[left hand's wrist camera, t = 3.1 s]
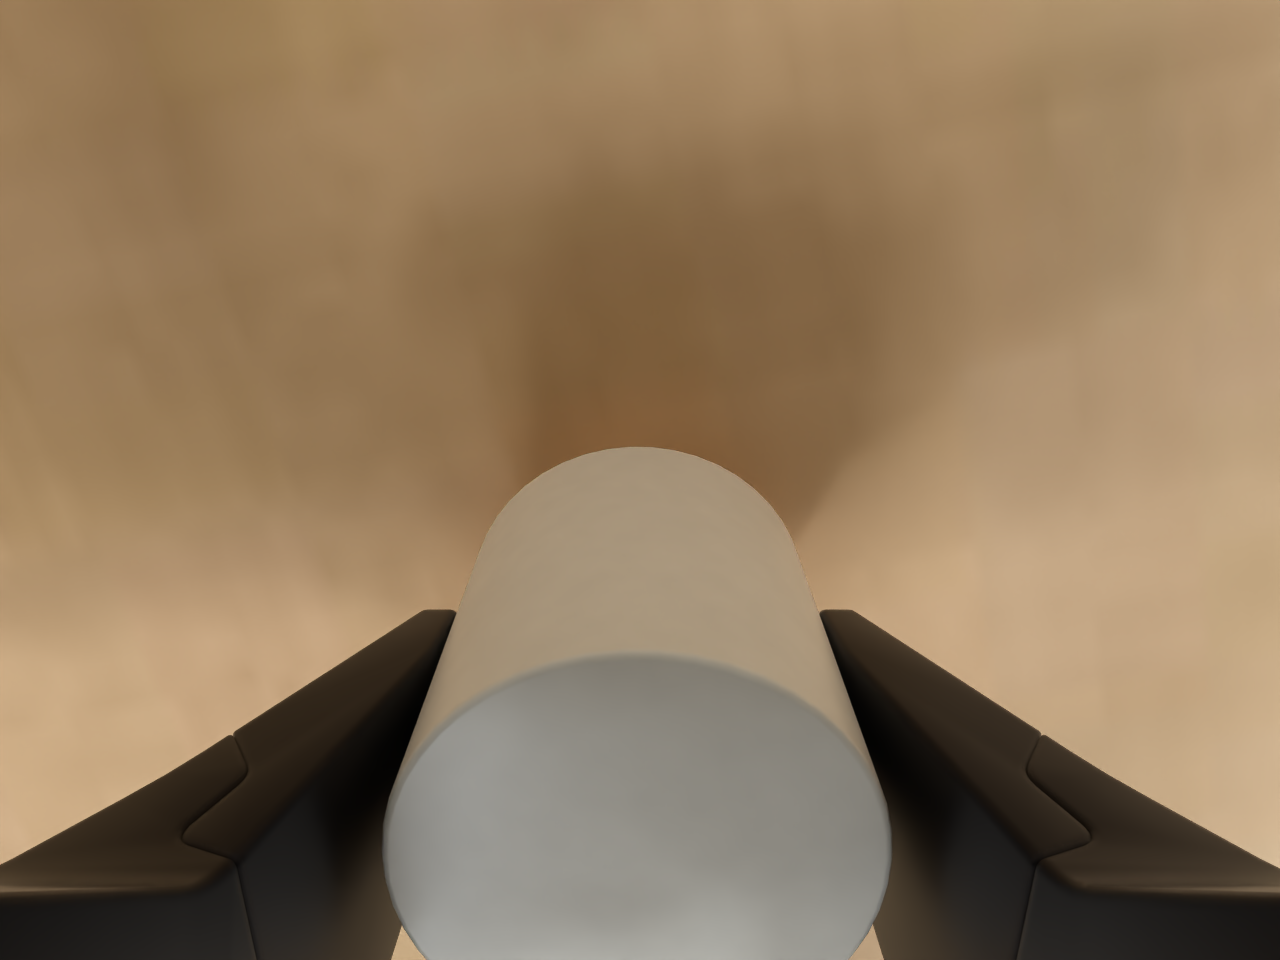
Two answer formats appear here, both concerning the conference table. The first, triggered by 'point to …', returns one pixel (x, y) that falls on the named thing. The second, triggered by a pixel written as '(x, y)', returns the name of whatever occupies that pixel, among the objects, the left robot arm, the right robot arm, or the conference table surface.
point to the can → (637, 737)
